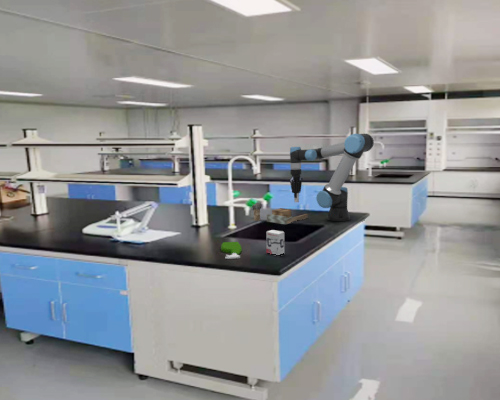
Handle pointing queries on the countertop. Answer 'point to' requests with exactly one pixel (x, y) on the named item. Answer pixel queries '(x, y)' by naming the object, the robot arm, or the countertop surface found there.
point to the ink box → (275, 242)
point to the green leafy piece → (231, 249)
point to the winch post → (257, 211)
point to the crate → (282, 212)
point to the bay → (284, 218)
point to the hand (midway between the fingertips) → (296, 202)
